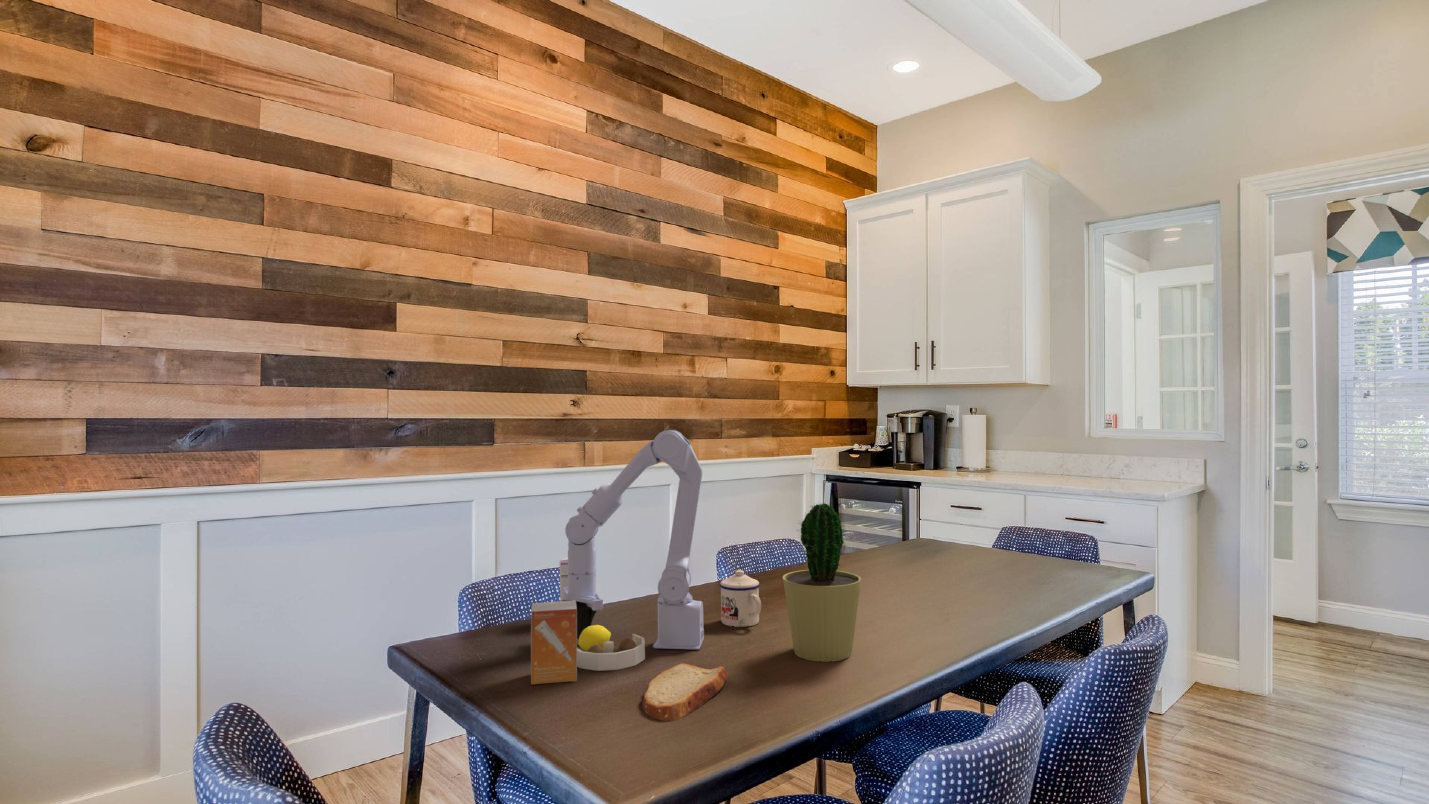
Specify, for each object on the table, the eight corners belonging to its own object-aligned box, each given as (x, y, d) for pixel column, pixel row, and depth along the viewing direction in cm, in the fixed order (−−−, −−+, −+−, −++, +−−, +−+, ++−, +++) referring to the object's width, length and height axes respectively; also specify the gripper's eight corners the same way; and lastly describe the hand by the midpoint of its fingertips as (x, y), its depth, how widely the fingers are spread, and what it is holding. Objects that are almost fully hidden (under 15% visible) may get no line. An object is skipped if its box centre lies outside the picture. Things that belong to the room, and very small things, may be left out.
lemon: (585, 661, 143) (581, 634, 143) (575, 653, 148) (571, 627, 148) (617, 650, 147) (614, 623, 147) (607, 643, 151) (603, 617, 151)
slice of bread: (656, 726, 112) (655, 702, 112) (621, 687, 129) (621, 666, 129) (760, 706, 120) (759, 683, 120) (714, 672, 136) (714, 651, 136)
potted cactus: (815, 636, 156) (813, 494, 157) (877, 651, 145) (875, 499, 146) (767, 652, 146) (765, 500, 146) (830, 671, 135) (828, 507, 135)
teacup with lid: (712, 621, 169) (711, 570, 169) (744, 614, 174) (743, 565, 174) (743, 633, 159) (742, 579, 159) (776, 626, 164) (775, 573, 164)
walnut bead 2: (637, 653, 146) (637, 636, 146) (634, 659, 142) (633, 641, 142) (621, 653, 146) (620, 635, 146) (616, 658, 143) (616, 641, 143)
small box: (530, 685, 129) (530, 611, 129) (531, 673, 135) (531, 602, 135) (577, 681, 131) (577, 608, 131) (576, 669, 137) (575, 599, 137)
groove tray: (657, 651, 147) (657, 636, 147) (621, 674, 134) (621, 657, 134) (605, 644, 152) (605, 630, 152) (565, 666, 139) (565, 650, 139)
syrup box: (583, 623, 167) (583, 559, 168) (559, 622, 169) (559, 559, 169) (592, 617, 173) (592, 555, 173) (569, 616, 174) (568, 554, 174)
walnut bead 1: (606, 660, 142) (606, 643, 142) (601, 666, 138) (601, 648, 138) (589, 660, 142) (589, 642, 142) (584, 666, 139) (584, 648, 139)
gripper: (549, 569, 156) (549, 633, 156) (580, 580, 144) (580, 650, 144) (579, 564, 160) (579, 627, 160) (611, 576, 149) (612, 643, 148)
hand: (582, 638), depth 152 cm, fingers closed
